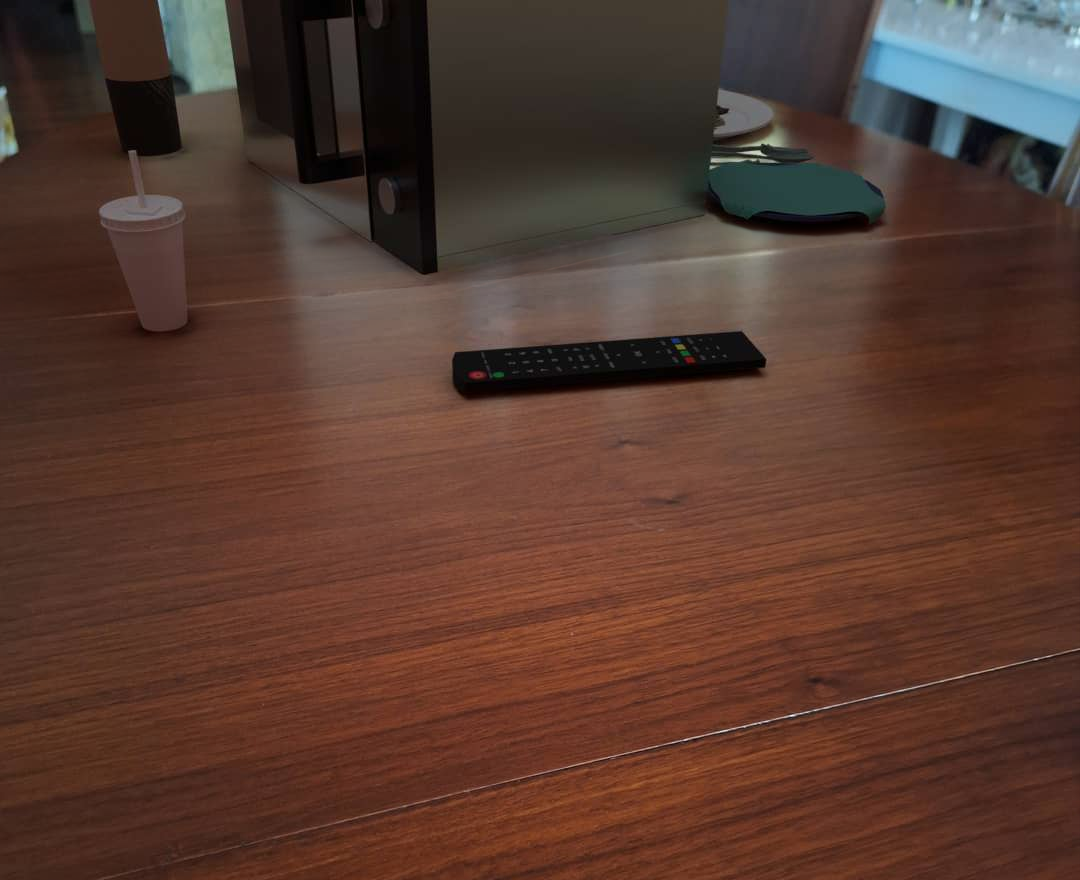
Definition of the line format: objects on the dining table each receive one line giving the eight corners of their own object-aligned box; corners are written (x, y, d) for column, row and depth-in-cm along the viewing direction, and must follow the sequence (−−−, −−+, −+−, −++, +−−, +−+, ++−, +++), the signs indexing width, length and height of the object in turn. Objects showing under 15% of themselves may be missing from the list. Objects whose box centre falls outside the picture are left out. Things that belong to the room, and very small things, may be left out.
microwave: (415, 278, 96) (396, -72, 80) (243, 162, 125) (203, -111, 109) (705, 214, 112) (738, -87, 96) (492, 125, 142) (490, -117, 126)
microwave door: (319, 252, 100) (283, -80, 84) (202, 166, 123) (156, -108, 107) (385, 239, 104) (362, -83, 88) (259, 158, 126) (223, -110, 110)
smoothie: (142, 345, 83) (103, 166, 75) (112, 319, 87) (71, 147, 79) (217, 325, 86) (187, 152, 78) (184, 301, 90) (153, 134, 82)
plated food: (774, 157, 131) (778, 129, 129) (541, 143, 135) (541, 115, 133) (769, 102, 156) (772, 78, 154) (571, 92, 159) (572, 68, 157)
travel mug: (169, 137, 134) (136, -39, 122) (194, 150, 129) (163, -32, 117) (110, 147, 130) (71, -35, 118) (134, 161, 125) (96, -27, 113)
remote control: (764, 375, 81) (766, 359, 80) (458, 400, 76) (457, 383, 76) (739, 346, 85) (741, 331, 84) (448, 368, 81) (447, 352, 80)
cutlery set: (713, 234, 107) (716, 212, 106) (676, 154, 131) (678, 135, 130) (904, 236, 108) (909, 214, 106) (831, 156, 132) (835, 137, 131)
